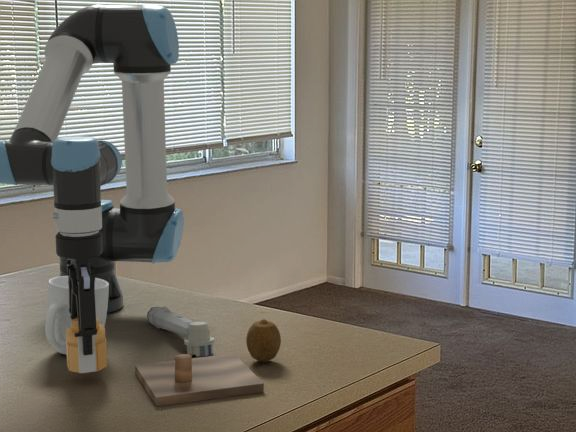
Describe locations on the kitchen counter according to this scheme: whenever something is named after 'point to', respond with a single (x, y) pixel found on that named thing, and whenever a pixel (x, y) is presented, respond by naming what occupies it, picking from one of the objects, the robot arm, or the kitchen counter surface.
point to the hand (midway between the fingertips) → (84, 364)
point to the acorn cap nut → (73, 347)
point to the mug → (59, 309)
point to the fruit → (263, 340)
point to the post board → (197, 379)
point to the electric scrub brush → (183, 330)
